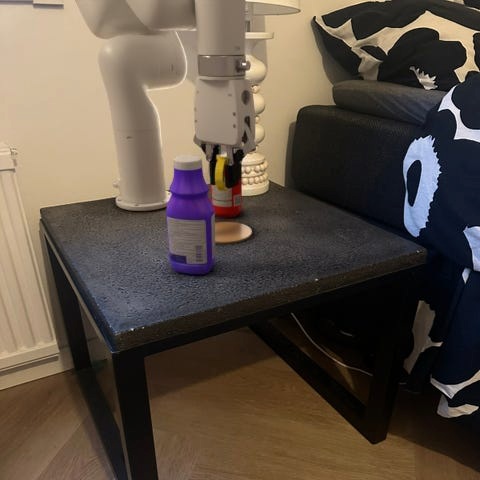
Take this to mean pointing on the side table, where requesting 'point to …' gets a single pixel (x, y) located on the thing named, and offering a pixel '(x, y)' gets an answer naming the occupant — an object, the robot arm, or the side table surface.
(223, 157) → the watch
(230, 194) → the beverage can
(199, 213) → the bottle
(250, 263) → the side table surface
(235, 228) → the coaster
